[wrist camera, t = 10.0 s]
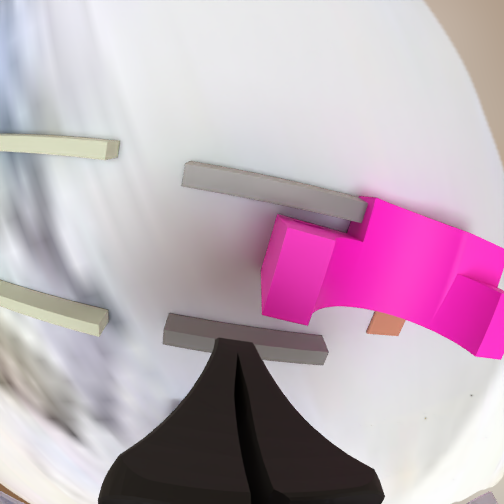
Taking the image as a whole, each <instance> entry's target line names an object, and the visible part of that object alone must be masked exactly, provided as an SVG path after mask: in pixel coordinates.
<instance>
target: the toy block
mask: <svg viewBox="0 0 504 504" xmlns="http://www.w3.org/2000/svg"><path fill="white" fill-rule="evenodd" d="M359 198H361V199H362V200H364V201H365V202H367V203H368V206H367V209H366V212H365V215H364V218H363V221H362V223H359V222H355V221H351V223H350V226H349V229H348V231H347V233H344V232H340V231H337V230H333V229H330V228H326V227H323V226H319V225H316V224H312V223H309V222H305V221H302V220H298V219H294V218H291V217H287V216H283V215H280V214H277V217H276V220H275V224H274V227H273V231H272V234H271V238H270V241H269V244H268V248H267V251H266V255H265V258H264V262H263V265H262V268H261V295H262V315H265V316H269V317H273V318H277V319H281V320H285V321H290V322H294V323H298V324H303V325H307V326H308V324H309V321H310V318H311V316H312V313H314V312H315V311H317V310H319V309H322V308H325V307H333V306H347V307H357V308H364V309H369V310H374V311H378V312H382V313H386V314H389V315H393V316H396V317H399V318H402V319H405V320H408V321H411V322H413V323H416V324H418V325H421V326H423V327H425V328H428V329H430V330H432V331H434V332H436V333H438V334H440V335H442V336H444V337H446V338H448V339H450V340H451V341H453V342H455V343H457V344H458V345H460V346H461V347H463V348H464V349H466V350H467V351H469V352H470V353H471V354H473V355H474V356H476V357H484V358H492V359H500V360H501V358H502V356H503V354H504V291H503V290H501V289H499V288H497V287H498V284H499V281H500V278H501V275H502V272H503V269H504V249H503V248H501V247H499V246H497V245H495V244H493V243H491V242H489V241H486V240H484V239H482V238H480V237H478V236H475V235H473V234H471V233H468V232H466V231H463V230H460V229H457V228H455V227H452V226H449V225H446V224H444V223H441V222H438V221H435V220H433V219H430V218H427V217H425V216H422V215H419V214H417V213H414V212H411V211H409V210H406V209H403V208H401V207H398V206H396V205H393V204H390V203H388V202H385V201H383V200H381V199H378V198H375V197H364V196H359Z"/></svg>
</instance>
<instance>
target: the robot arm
mask: <svg viewBox="0 0 504 504" xmlns="http://www.w3.org/2000/svg"><path fill="white" fill-rule="evenodd" d="M384 497H385V495H384V492H383V489H382V486H381V483H380V480H379V478H378V476H377V474H376V472H375V470H374V469H373V468H371V467H369V466H367V465H365V464H364V463H362V462H360V461H358V460H357V459H355V458H353V457H351V456H350V455H348V454H347V453H345V452H344V451H342V450H341V449H339V448H338V447H337V446H335V445H334V444H332V443H331V442H330V441H329V440H327V439H326V438H325V437H324V436H323V435H321V434H320V433H319V432H318V431H317V430H316V429H314V428H313V427H312V426H311V425H310V424H309V423H308V422H307V421H306V420H305V419H304V418H303V417H302V416H301V415H300V414H299V413H298V411H297V410H296V409H295V408H294V407H293V406H292V404H291V403H290V402H289V401H288V399H287V398H286V397H285V395H284V394H283V393H282V391H281V390H280V388H279V387H278V385H277V384H276V382H275V381H274V379H273V378H272V376H271V374H270V373H269V371H268V370H267V368H266V366H265V364H264V362H263V361H262V359H261V357H260V355H259V353H258V351H257V349H256V347H255V345H254V344H253V342H247V341H240V340H233V339H226V338H220V337H219V338H217V339H215V343H214V348H213V351H212V354H211V356H210V358H209V361H208V362H207V364H206V366H205V368H204V370H203V372H202V374H201V375H200V377H199V378H198V380H197V381H196V383H195V384H194V386H193V387H192V389H191V390H190V392H189V393H188V394H187V396H186V397H185V398H184V399H183V401H182V402H181V403H180V404H179V405H178V406H177V408H176V409H175V410H174V411H173V412H172V413H171V414H170V415H169V416H168V417H167V418H166V419H165V420H164V421H163V422H162V423H161V424H160V425H159V426H157V427H156V428H155V429H154V430H153V431H152V432H150V433H149V434H148V435H147V436H146V437H145V438H143V439H142V440H141V441H139V442H138V443H136V444H135V445H133V446H132V447H130V448H129V449H128V450H126V451H125V452H123V453H122V454H120V455H119V456H118V458H117V459H116V460H115V462H114V463H113V465H112V466H111V468H110V470H109V471H108V473H107V475H106V477H105V479H104V481H103V483H102V486H101V490H100V494H99V498H98V504H381V503H382V501H383V500H384ZM0 504H24V503H22V502H20V501H18V500H16V499H14V498H12V497H10V496H9V495H7V494H5V493H3V492H1V491H0ZM467 504H498V503H497V501H496V499H495V497H494V495H493V493H492V492H491V491H490V492H487V493H486V494H483V495H481V496H479V497H477V498H475V499H473V500H472V501H470V502H469V503H467Z"/></svg>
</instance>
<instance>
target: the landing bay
mask: <svg viewBox="0 0 504 504" xmlns="http://www.w3.org/2000/svg"><path fill="white" fill-rule="evenodd" d="M119 144H120V141H115V140H105V139H95V138H83V137H70V136H55V135H35V134H0V151H10V152H25V153H39V154H51V155H62V156H72V157H82V158H91V159H100V160H108V159H112V158H117V157H118V150H119ZM0 306H1V307H4V308H7V309H10V310H12V311H15V312H18V313H21V314H24V315H27V316H30V317H33V318H36V319H39V320H42V321H45V322H49V323H52V324H55V325H58V326H62V327H65V328H69V329H72V330H76V331H79V332H83V333H87V334H90V335H94V336H98V337H100V335H101V333H102V332H103V330H104V328H105V326H106V325H107V323H108V310H106V309H102V308H98V307H94V306H90V305H86V304H82V303H78V302H74V301H70V300H66V299H63V298H59V297H55V296H52V295H48V294H45V293H41V292H38V291H34V290H31V289H27V288H24V287H21V286H18V285H14V284H11V283H8V282H5V281H2V280H0Z"/></svg>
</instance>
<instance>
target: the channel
mask: <svg viewBox="0 0 504 504" xmlns="http://www.w3.org/2000/svg"><path fill="white" fill-rule="evenodd" d="M181 186H183V187H188V188H194V189H200V190H206V191H211V192H217V193H222V194H228V195H233V196H238V197H243V198H249V199H254V200H259V201H264V202H269V203H274V204H278V205H283V206H288V207H293V208H297V209H302V210H307V211H311V212H316V213H320V214H325V215H329V216H333V217H338V218H342V219H346V220H350V221H355V222H359V223H362V221H363V218H364V215H365V212H366V209H367V206H368V203H367V202H365V201H364V200H362V199H361V198H359V197H355V196H352V195H348V194H344V193H340V192H336V191H332V190H328V189H324V188H320V187H316V186H312V185H308V184H303V183H299V182H295V181H290V180H286V179H281V178H277V177H272V176H267V175H263V174H258V173H253V172H248V171H243V170H238V169H233V168H227V167H222V166H216V165H211V164H205V163H199V162H193V161H189V162H188V163H186V164H185V167H184V173H183V179H182V185H181ZM404 322H405V319H402V318H399V317H396V316H393V315H389V314H386V313H382V312H378V311H375V313H374V315H373V318H372V320H371V322H370V325H369V327H368V329H367V334H379V335H392V336H398V335H399V333H400V331H401V329H402V327H403V325H404ZM219 337H220V338H226V339H233V340H240V341H247V342H253V344H254V345H255V347H256V349H257V351H258V353H259V355H260V357H261V359H262V360H269V361H279V362H289V363H299V364H312V365H324V362H325V360H326V358H327V355H328V353H329V352H328V349H327V347H326V344H325V342H324V339H323V337H322V336H320V335H311V334H302V333H294V332H285V331H278V330H270V329H263V328H255V327H248V326H242V325H235V324H229V323H222V322H216V321H210V320H204V319H198V318H193V317H187V316H182V315H176V314H171V313H169V315H168V318H167V321H166V324H165V327H164V333H163V344H165V345H170V346H175V347H180V348H186V349H192V350H198V351H204V352H210V353H212V351H213V348H214V343H215V339H217V338H219Z"/></svg>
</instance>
